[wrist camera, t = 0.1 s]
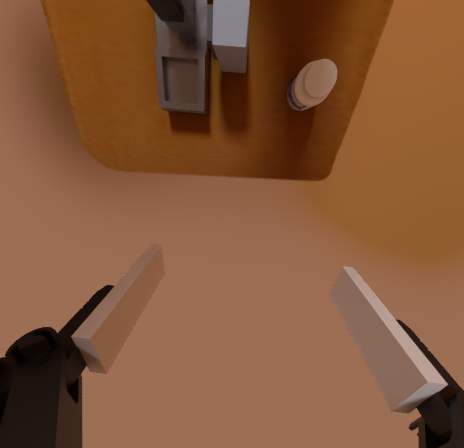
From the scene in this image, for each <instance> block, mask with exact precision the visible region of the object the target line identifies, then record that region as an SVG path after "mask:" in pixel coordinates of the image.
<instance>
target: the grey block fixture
mask: <svg viewBox="0 0 464 448" xmlns="http://www.w3.org/2000/svg"><path fill="white" fill-rule="evenodd" d="M210 1H211V0H147V2H148V3H149V5H150V6H151V7H152V9H153V10H154V11H155V22H156V35H157V47H154V50H155V61H156V73H157V84H158V96H159V107H160V108H163V110H165V111H169V112H180V113H191V114H202V115H208V110H209V56H210V48H209V45H208V43H207V4H210Z"/></svg>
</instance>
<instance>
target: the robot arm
mask: <svg viewBox="0 0 464 448" xmlns="http://www.w3.org/2000/svg"><path fill="white" fill-rule="evenodd" d="M164 274H165V273H164V264H163V255H162V245H156V244H151V245H150V246H149V247H148V248H147V249H146V250H145V252H144V253H143V254H142V255H141V256H140V257H139V259H138V260H137V261H136V262H135V263H134V264H133V265H132V267H131V268H130V269H129V270H128V271H127V272H126V274H125V275H124V276H123V277H122V278H121V279H120V281H119V282H118V283H117V284H116V285H115V286H112V285H106V286H105V287H103V288H102V289H100V290H99V291H97V292H96V293H95V294H94V295H93V296H92V298H91V299H90V300H89V302H87V303H86V304H85V305H84V306H83V308H82V309H80V310H79V311H78V312H77V313H76V314H75V315H74V316H73V318H72V319H71V320H70V321H69V322H68V323H67V324H66V325H65V326H64V327H63V328H62V329H61V330H60V331H59V332H58V333H57V332H56V331H55V330H54V329H53V328H51V327H43V328H39V329H35V330H33V331H31V332H29V333H27V334H25V335H24V336H22V337H21V338H19V339H18V340H16V342H14V344H12V345H11V346H10V348H9V349H8V351H7V352H6V354H5V356H6V357H3V358H0V448H82V376H81V373H82V371H83V370H84V369H85V367H86V366H87V367H88V369H89V370H90V372H96V373H103V374H106V373H107V372H108V370H109V368H110V367H111V365H112V363H113V362H114V360H115V358H116V356H117V355H118V353H119V351H120V350H121V348H122V346H123V344H124V343H125V341H126V339H127V337H128V336H129V334H130V332H131V331H132V329H133V327H134V325H135V324H136V322H137V320H138V318H139V317H140V315H141V313H142V312H143V310H144V308H145V307H146V305H147V303H148V301H149V300H150V298H151V296H152V294H153V293H154V291H155V289H156V288H157V286H158V284H159V282H160V281H161V279H162V277H163V275H164ZM329 294H330V296H331V298H332V300H333V302H334V304H335V306H336V307H337V309H338V311H339V313H340V315H341V317H342V319H343V321H344V322H345V324H346V326H347V328H348V330H349V332H350V334H351V336H352V338H353V339H354V341H355V343H356V345H357V347H358V349H359V351H360V353H361V354H362V357H363V359H364V360H365V362H366V364H367V366H368V368H369V370H370V372H371V374H372V375H373V377H374V379H375V381H376V383H377V385H378V387H379V389H380V391H381V392H382V394H383V396H384V398H385V400H386V402H387V404H388V406H389V408H390V410H391V411H394V412H402V413H410V412H411V411H413V410H414V409H415V408H417V409H418V411H419V412H420V414H421V417H420V418H418V419H417V420H415V421H414V422H412V423H411V424H410V426H409V429H410V430H414V429H416V428H417V427H419V428H418V429H419V433H417V435H418V436H419V448H464V390H463V389H462V388H461V387H460V386H459V385H458V384H457V383H456V382H455V380H454V379H453V378H452V377H451V376H450V374H449V373H448V372H447V371H446V370H445V369H444V367H443V366H442V365H441V364H440V363H439V362H438V360H437V359H436V358H435V357H434V356H433V355H432V353H431V352H430V351H428V349H427V347H426V346H425V345H424V344H423V343H422V342H420V339H419V338H418V337H417V336H416V335H415V333H414V332H413V331H412V330H411V329H410V328H409V327H408V326H406V325H405V324H404V323H403V322H402V321H400V320H395V318H394V317H393V316H392V315H391V314H390V312H388V310H387V309H386V307H385V306H384V305H383V304H382V302H381V301H380V300H379V299H378V298H377V296H376V295H375V294H374V293H373V291H372V290H371V289H370V288H369V286H368V285H367V284H366V283H365V282H364V280H363V279H362V278H361V277H360V276H359V274H358V273H357V272H356V270H355V269H354V268H353V267H344V266H343V267H342V268H341V270H340V272H339V274H338V277H337V278H336V280H335V283H334V285H333V287H332V289H331V291H330V293H329Z"/></svg>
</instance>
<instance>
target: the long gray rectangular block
mask: <svg viewBox="0 0 464 448" xmlns="http://www.w3.org/2000/svg"><path fill="white" fill-rule="evenodd" d="M249 16H250V0H213V5H211V4H207V43H208V45H209V48H210V50H211V52H212V55H213V57H214V59H216V60H218V62H219V64H220V67H221V70H222V72H234V73H245V74H246V64H247V53H248V42H249Z"/></svg>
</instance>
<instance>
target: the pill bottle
mask: <svg viewBox="0 0 464 448" xmlns="http://www.w3.org/2000/svg"><path fill="white" fill-rule="evenodd" d="M336 79H337V68H336V66H335V64H334V63H333V62H332V61H331V60H329V59H320V60H316V61H312V62H310V63H308V64H307V65H305V66H304V67H303V68H302V69H301V71H300V72H299V73H298V74H297V75H296V77H295V78H294V79H293V80H292V82H291V83H290V85H289V87H288V91H287V100H288V103H289V105H290V106H291V107H292V108H293V109H295V110H298V111H303V110H306V109H308V108H311V107H313V106H315V105H317V104H319V103H321V102H322V101H323V100H324V99H325V98H326V97H327V96H328V94H329V93H330V91H331V90H332V88H333V87H334V85H335V83H336Z"/></svg>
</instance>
